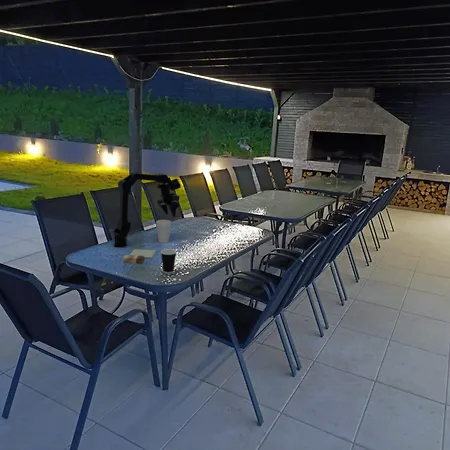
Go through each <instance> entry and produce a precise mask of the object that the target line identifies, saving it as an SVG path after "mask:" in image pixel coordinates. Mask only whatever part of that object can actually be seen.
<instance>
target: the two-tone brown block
mask: <svg viewBox="0 0 450 450" xmlns="http://www.w3.org/2000/svg"><path fill="white" fill-rule="evenodd" d="M144 261H145V258H144V256H137V255H130V254H125V255H124V256H123V258H122V263H123V264H135V265H137V264H138V265H142V264H143V262H144Z"/></svg>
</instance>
